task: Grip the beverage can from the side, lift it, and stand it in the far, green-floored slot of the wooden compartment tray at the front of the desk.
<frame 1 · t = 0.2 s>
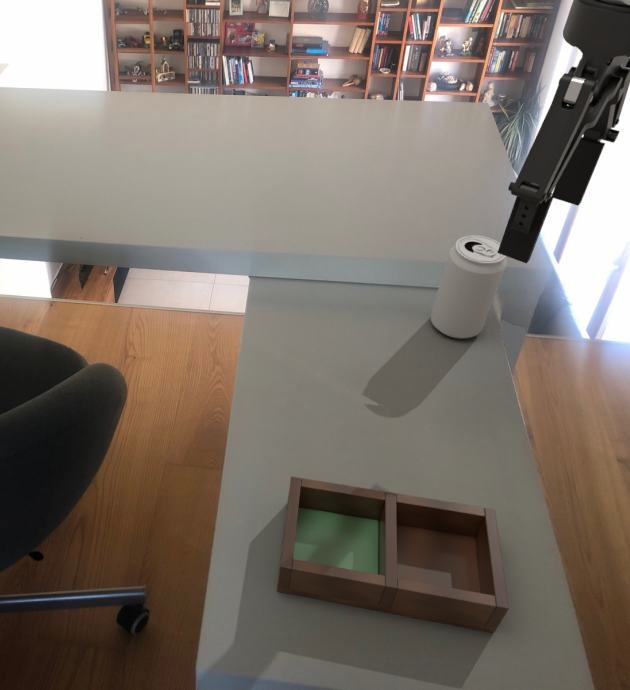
hand: (540, 227, 68), 21 cm above the table, tool pointing down, fingers open, 13 cm apart
wooden compartment tray: (382, 562, 64), on the table
beverage can: (454, 326, 89), on the table
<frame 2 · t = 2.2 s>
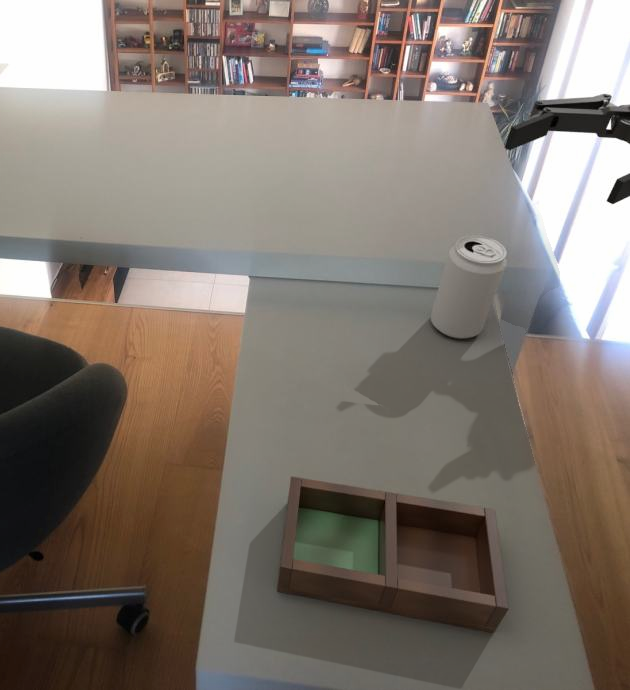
hand: (559, 163, 77), 21 cm above the table, tool horizontal, fingers open, 13 cm apart
nothing on the table moved.
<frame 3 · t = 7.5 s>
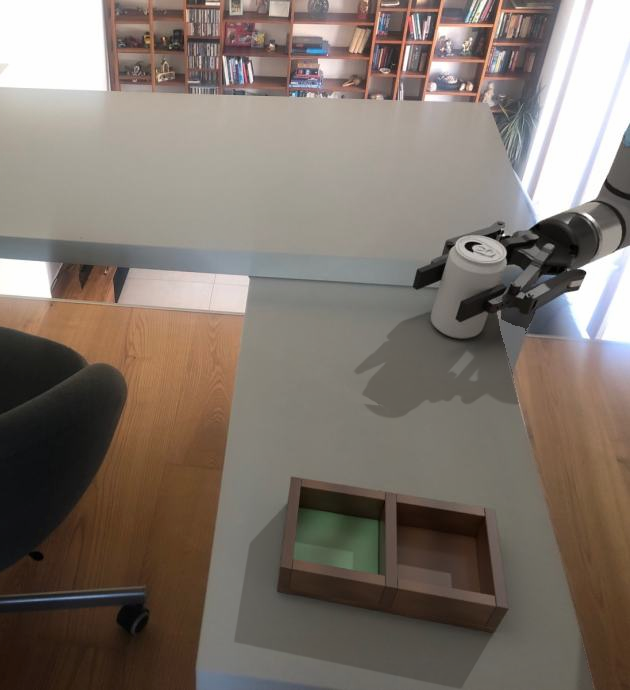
hand: (438, 295, 82), 7 cm above the table, tool horizontal, fingers closed on beverage can, 6 cm apart
beverage can: (454, 326, 89), on the table, touching gripper
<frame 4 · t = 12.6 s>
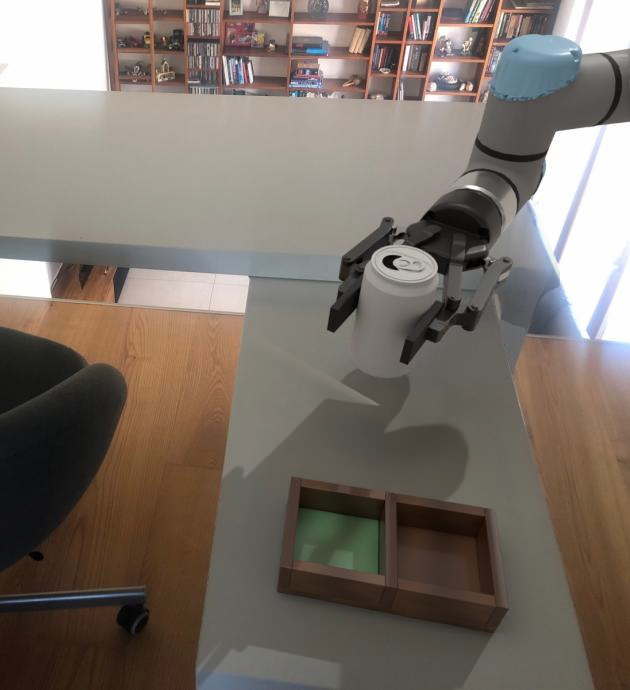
hand: (368, 335, 61), 18 cm above the table, tool horizontal, fingers closed on beverage can, 6 cm apart
beverage can: (379, 362, 69), point 11 cm above the table, touching gripper
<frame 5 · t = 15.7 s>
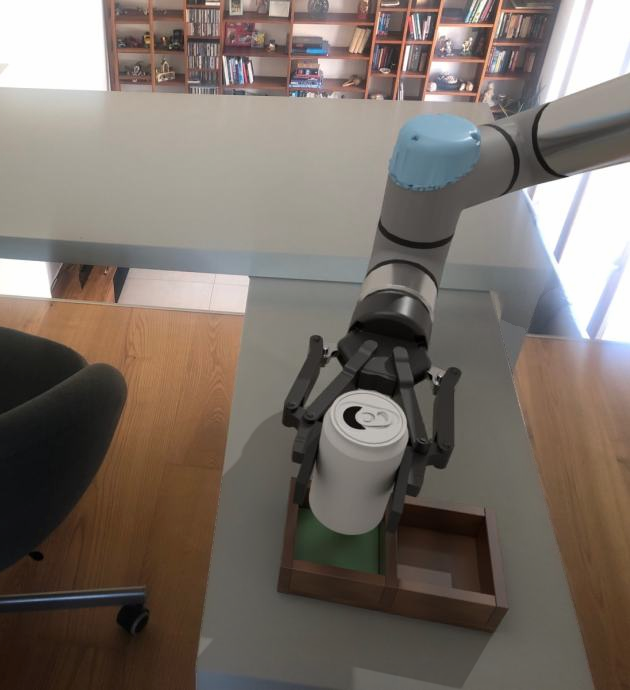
hand: (345, 507, 52), 14 cm above the table, tool horizontal, fingers closed on beverage can, 6 cm apart
beverage can: (344, 508, 60), point 7 cm above the table, touching gripper
when the fingers open (8 cm above the table, at t = 17.8 s): beverage can stays where it is, resting on wooden compartment tray.
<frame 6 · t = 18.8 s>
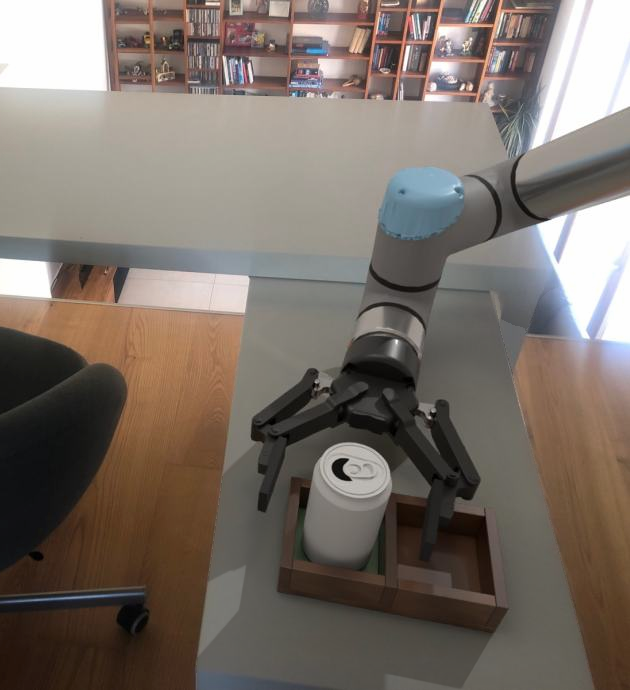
hand: (341, 527, 57), 9 cm above the table, tool horizontal, fingers open, 13 cm apart
beverage can: (335, 548, 65), point 1 cm above the table, touching wooden compartment tray
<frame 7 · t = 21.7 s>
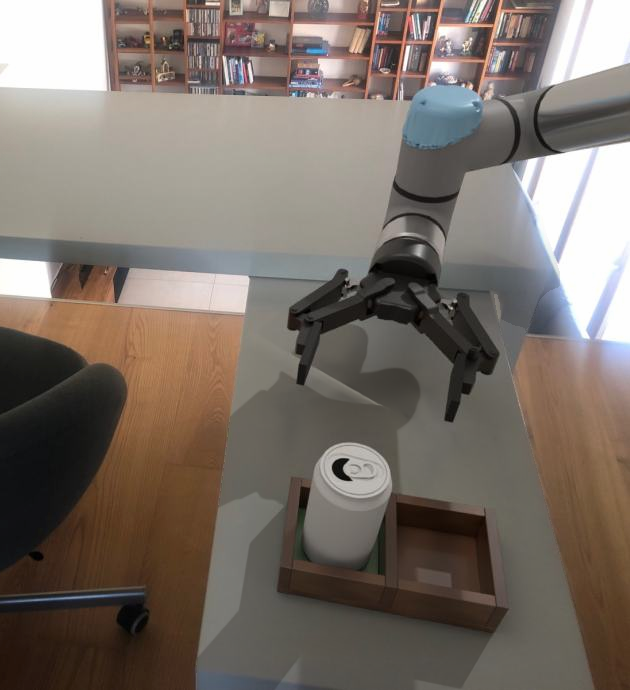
hand: (374, 393, 63), 12 cm above the table, tool horizontal, fingers open, 13 cm apart
nothing on the table moved.
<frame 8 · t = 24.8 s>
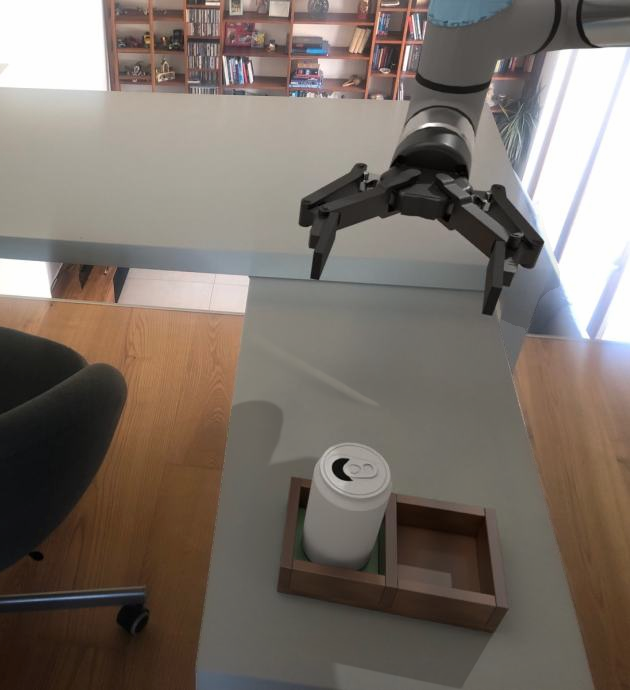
hand: (400, 283, 55), 25 cm above the table, tool horizontal, fingers open, 13 cm apart
nothing on the table moved.
at the end: beverage can 0.1 cm from the target spot in the wooden compartment tray, point 0.8 cm above the wooden compartment tray's base; beverage can tilted 0° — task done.
